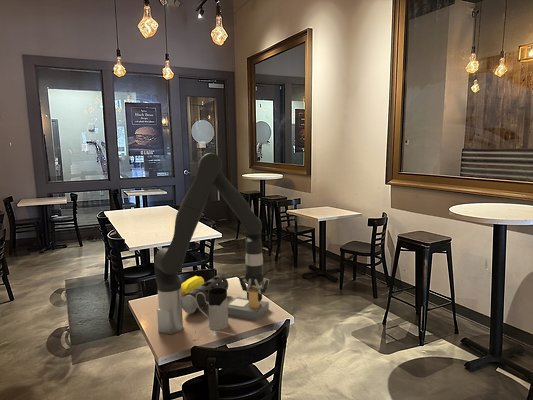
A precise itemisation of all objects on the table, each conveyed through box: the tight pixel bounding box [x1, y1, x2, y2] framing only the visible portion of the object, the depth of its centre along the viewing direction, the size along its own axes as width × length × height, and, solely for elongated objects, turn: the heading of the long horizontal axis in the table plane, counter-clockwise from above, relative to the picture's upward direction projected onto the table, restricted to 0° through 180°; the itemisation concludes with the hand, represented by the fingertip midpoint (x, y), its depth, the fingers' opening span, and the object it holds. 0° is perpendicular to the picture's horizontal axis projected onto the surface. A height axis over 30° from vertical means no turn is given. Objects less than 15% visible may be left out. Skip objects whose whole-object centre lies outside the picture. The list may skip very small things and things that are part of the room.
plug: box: [249, 285, 260, 309], centre depth 167 cm, size 4×4×11 cm
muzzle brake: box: [182, 274, 229, 314], centre depth 179 cm, size 10×28×10 cm, turn 157°
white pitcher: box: [195, 288, 230, 332], centre depth 157 cm, size 9×14×15 cm, turn 77°
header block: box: [228, 296, 270, 322], centre depth 169 cm, size 12×16×4 cm
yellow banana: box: [181, 275, 205, 297], centre depth 196 cm, size 18×7×8 cm
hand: (254, 300), depth 167 cm, fingers closed on plug, 4 cm apart
